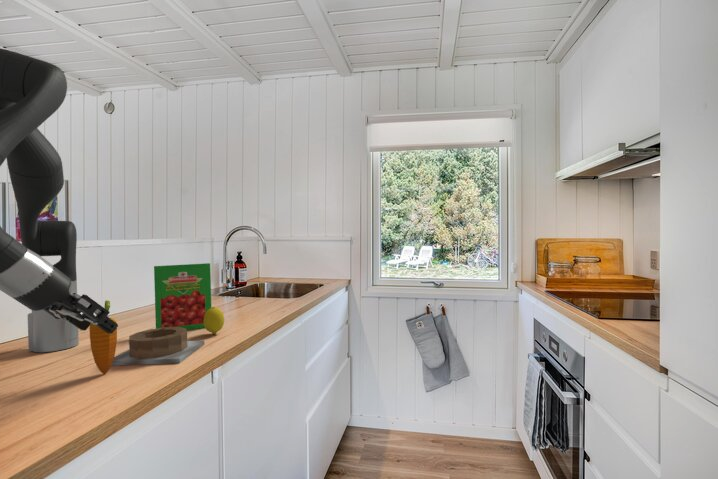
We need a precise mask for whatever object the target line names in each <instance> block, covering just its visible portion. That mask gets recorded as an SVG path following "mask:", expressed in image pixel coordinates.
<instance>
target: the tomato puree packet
mask: <svg viewBox="0 0 718 479" xmlns="http://www.w3.org/2000/svg"><path fill="white" fill-rule="evenodd" d="M153 274H154V275H153V276H154V280H153V281H154V309H155V329H157V328H164V327H180V328H186V330H187V331H190V330H199V329H206V328H205V327H204V316H205V313H206V312H207V311H208V310H209V309H211V308H212V283H211V282H212V280H211V279H212V278H211V263H210V262H206V263H191V264H190V263H189V264H171V265H170V264H169V265H168V264H167V265H154V266H153Z"/></svg>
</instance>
